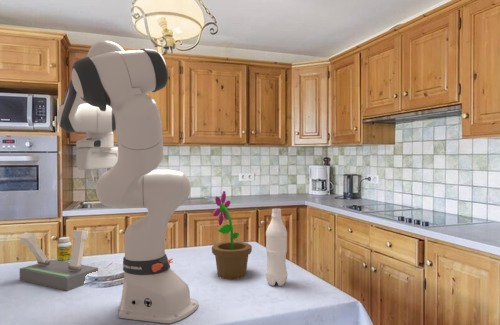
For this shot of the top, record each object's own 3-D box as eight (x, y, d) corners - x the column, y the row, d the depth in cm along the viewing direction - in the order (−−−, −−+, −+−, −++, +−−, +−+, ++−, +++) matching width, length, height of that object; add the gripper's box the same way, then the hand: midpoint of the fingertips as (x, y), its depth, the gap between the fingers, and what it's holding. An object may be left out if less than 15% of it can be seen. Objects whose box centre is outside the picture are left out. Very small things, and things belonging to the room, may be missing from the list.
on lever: (51, 261, 128) (33, 233, 121) (45, 267, 126) (27, 238, 119) (43, 260, 129) (25, 232, 123) (37, 265, 127) (18, 237, 121)
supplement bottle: (71, 258, 150) (70, 235, 150) (72, 261, 145) (72, 238, 145) (56, 260, 147) (56, 237, 147) (57, 263, 142) (57, 239, 142)
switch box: (98, 279, 124) (97, 266, 124) (67, 291, 113) (67, 277, 113) (51, 270, 134) (51, 258, 134) (19, 280, 123) (19, 267, 123)
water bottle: (291, 283, 120) (291, 209, 119) (278, 289, 114) (278, 211, 114) (275, 278, 125) (274, 206, 124) (261, 283, 119) (261, 209, 119)
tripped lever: (82, 270, 120) (88, 231, 123) (75, 271, 118) (82, 230, 120) (73, 269, 122) (79, 230, 125) (66, 269, 120) (73, 229, 122)
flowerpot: (224, 266, 138) (223, 189, 138) (258, 271, 132) (257, 190, 132) (204, 277, 125) (203, 192, 125) (240, 283, 119) (240, 194, 119)
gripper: (110, 143, 138) (111, 179, 138) (72, 142, 118) (72, 183, 119) (125, 143, 137) (125, 179, 137) (88, 142, 117) (89, 184, 117)
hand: (100, 181), depth 128 cm, fingers open, 8 cm apart
